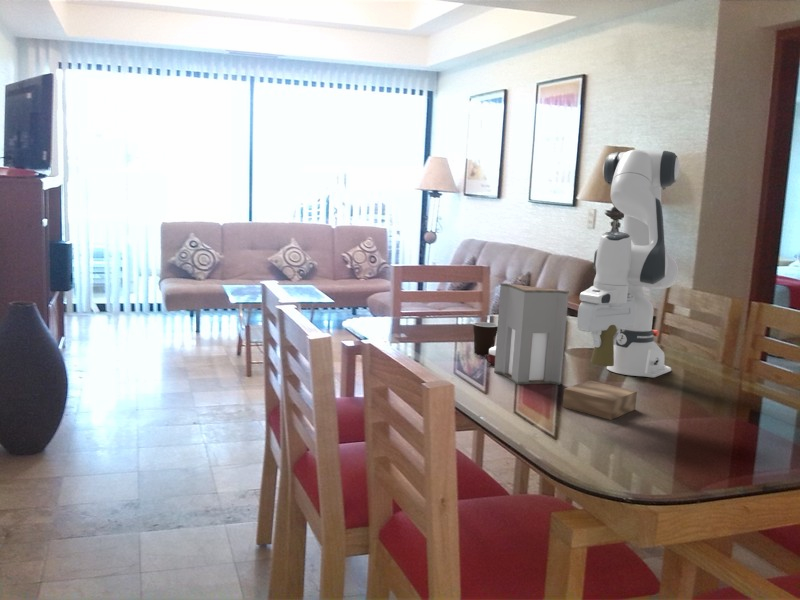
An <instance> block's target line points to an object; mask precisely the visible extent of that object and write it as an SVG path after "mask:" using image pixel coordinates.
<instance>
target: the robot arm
mask: <svg viewBox="0 0 800 600" xmlns="http://www.w3.org/2000/svg"><path fill="white" fill-rule="evenodd" d="M680 170H681V167H680V162H679V158H678V155H676V153H675V152H673V151H668V150H663V151H661V150H652V149H651V150H650V149H647V150H646V149H643V150H641V149H631V150H628V151H623V152H621V151H616V152H612V153H611V152H610V153H609V154H608V155H607V156H606V157H605V159H604V163H603V165H602V175H603V179H604V182H605V183H606V184H607V185H609V186H610V200H611V202H612V205H613V206H614V208H615V209H617V210H618V212H620V213H621V214H623V232H622V231H605V232H603V233H602V234H601V236H600V238H599V241H598V246H597V249H596V250H595V251H594V257H593V266H592V269H594V270H595V273H596V274H595V276H594V279H593V285H591V286H590V287H589V288H587V289H585V290H584V291H581V292H580V294H579V301H581V302H580V304H579V306H578V310H577V321H576V325H577V329H578V330H579V331H581V332H586V333H590V334H591V336H592V339H593V348H594V347H601V346H602V343H603V341H602V340H601V339H600V335H601V332H602V331H604V330H607V329H608V328H609V326H610V325H615V326H616V328H617V331H616V334H615V335H614V366H606V369H607V370H608V371H610V372H613V373H616V374H620V375H626V376H634V377H635V376H636V377H647V378H656V377H659V376H662V375H664V374H667V373H669V372H671V371H672V367H670V366H669V365H665V358H666V357H665V352H664V350H663V349H661V348H660V347H659V345H658V344H657V343H656V342H655V337H658V336H659V335H660V331H659V330H658V329H656V330H655V329H652V328H653V320H654V319H653V318H654V312H655V311H654V305H653V303H652V302H651V301H650V300H649V299H648V297H646V295H645V293H644V290H643V287H644V288H648V289H649V288H650V289H653V290H655V289H657V290H658V289H668V288H671V287H672V286H674V284H675V283H676V281H677V279H678V277H679V272H680V271H679V270H680V269H679V266H678V263H677V262H676V260H675V259H674V257H672V256H671V255H670V253H669V252H668V250H667V248H666V246H665V226H664V217H663V206H662V190H663V191H664V190H666V189H667V187H670V186H672V185H673V184H674V183H676V180H677V179H678V177H679V173H680Z"/></svg>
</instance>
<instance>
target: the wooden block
mask: <svg viewBox="0 0 800 600" xmlns="http://www.w3.org/2000/svg"><path fill="white" fill-rule="evenodd" d="M637 395H638V391H636V390H632V389H628V388H624V387H619V386H615V385H612V384H608V383H603V382H598V381H594V380H588V381H587V380H586V381H583V382H581V383H577V384H574V385H571V386H568V387H566V388H563V397H562V407H563V408H566V409H570V410H573V411H576V412H577V411H578V412H581V413H585V414H588V415H591V416H596V417H599V418H603V419H607V420H610V421H611V420H614V419H615V418H618V417H621V416H624V415H625V414H627V413H630V412H633V411H635V410H636V405H637V398H638V396H637Z"/></svg>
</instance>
